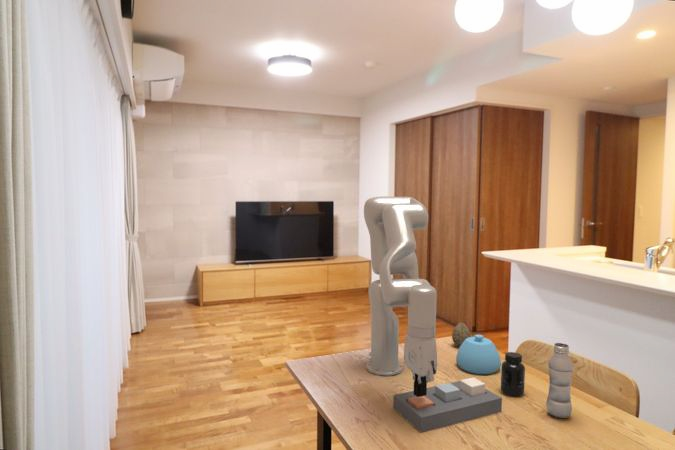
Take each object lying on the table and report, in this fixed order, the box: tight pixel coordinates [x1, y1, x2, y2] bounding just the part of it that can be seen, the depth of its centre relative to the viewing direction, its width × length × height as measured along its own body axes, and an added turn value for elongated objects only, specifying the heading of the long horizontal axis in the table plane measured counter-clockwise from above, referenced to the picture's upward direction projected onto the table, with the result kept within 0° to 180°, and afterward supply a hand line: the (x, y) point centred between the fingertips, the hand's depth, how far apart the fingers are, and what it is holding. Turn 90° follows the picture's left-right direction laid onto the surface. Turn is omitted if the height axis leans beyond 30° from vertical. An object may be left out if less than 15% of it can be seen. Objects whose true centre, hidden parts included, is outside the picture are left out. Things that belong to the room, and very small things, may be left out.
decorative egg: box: [451, 321, 472, 348], centre depth 180 cm, size 7×7×10 cm
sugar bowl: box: [455, 334, 502, 375], centre depth 160 cm, size 15×15×12 cm
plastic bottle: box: [545, 342, 574, 419], centre depth 125 cm, size 6×7×20 cm
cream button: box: [459, 377, 486, 397], centre depth 132 cm, size 5×5×4 cm
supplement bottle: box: [500, 351, 526, 398], centre depth 140 cm, size 7×7×12 cm
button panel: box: [392, 380, 503, 433], centre depth 129 cm, size 14×27×4 cm, turn 114°
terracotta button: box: [408, 396, 434, 409], centre depth 125 cm, size 5×5×4 cm
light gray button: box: [434, 382, 460, 403], centre depth 129 cm, size 5×5×4 cm
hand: (420, 394), depth 126 cm, fingers closed
